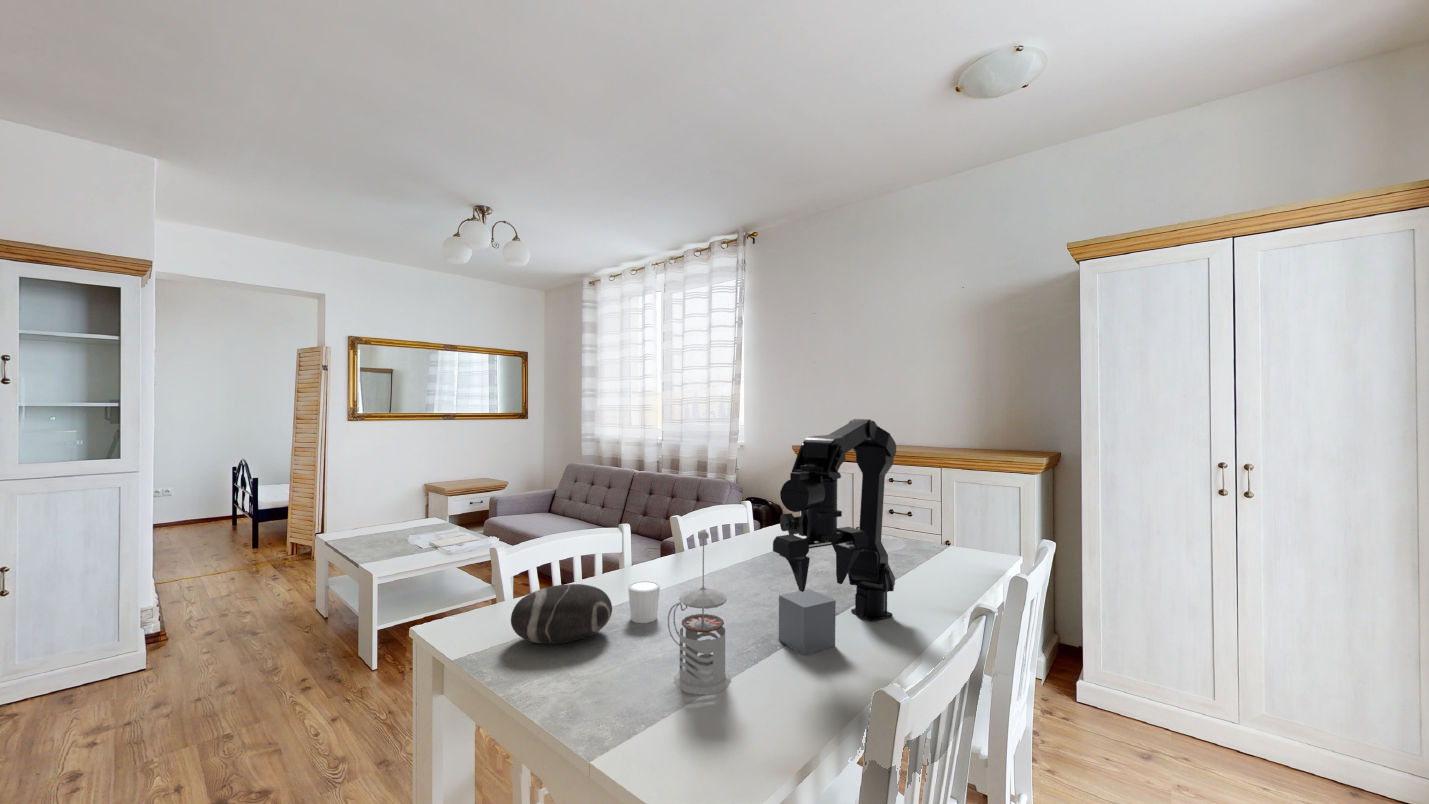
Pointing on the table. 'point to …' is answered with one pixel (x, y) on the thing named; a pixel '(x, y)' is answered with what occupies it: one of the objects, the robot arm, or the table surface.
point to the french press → (701, 641)
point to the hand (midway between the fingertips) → (821, 587)
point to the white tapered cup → (643, 601)
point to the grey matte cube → (807, 621)
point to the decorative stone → (561, 613)
